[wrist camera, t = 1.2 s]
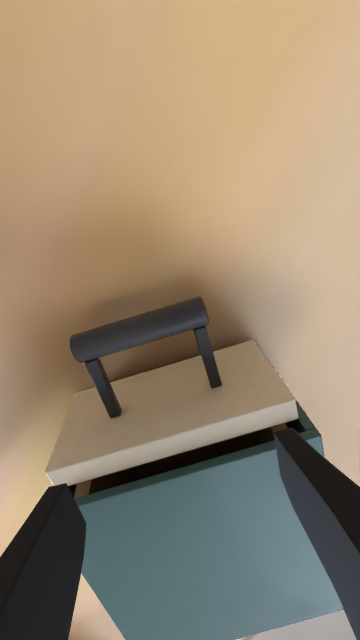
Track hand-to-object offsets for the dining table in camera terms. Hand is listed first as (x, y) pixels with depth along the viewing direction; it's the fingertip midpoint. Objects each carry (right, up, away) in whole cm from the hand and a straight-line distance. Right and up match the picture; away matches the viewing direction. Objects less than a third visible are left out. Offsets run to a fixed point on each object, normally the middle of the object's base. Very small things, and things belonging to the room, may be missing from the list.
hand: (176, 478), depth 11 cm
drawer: (0, -1, +11) cm, 11 cm away
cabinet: (+1, -5, +13) cm, 14 cm away
